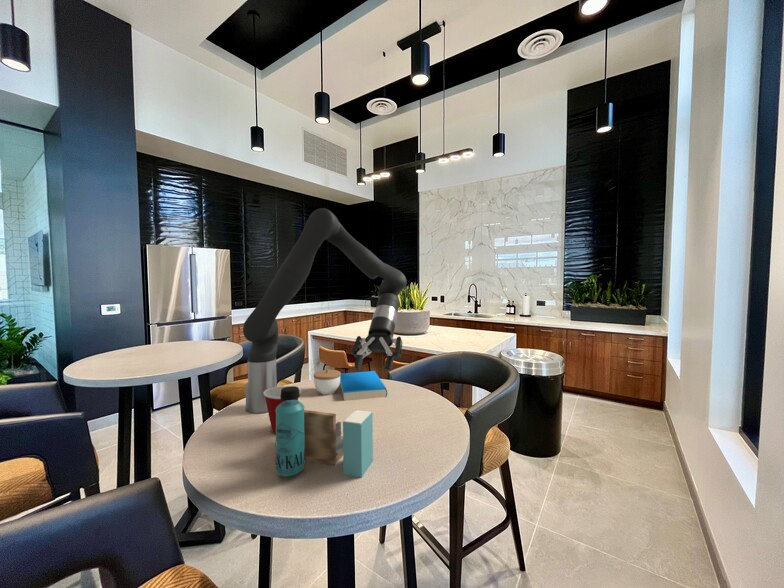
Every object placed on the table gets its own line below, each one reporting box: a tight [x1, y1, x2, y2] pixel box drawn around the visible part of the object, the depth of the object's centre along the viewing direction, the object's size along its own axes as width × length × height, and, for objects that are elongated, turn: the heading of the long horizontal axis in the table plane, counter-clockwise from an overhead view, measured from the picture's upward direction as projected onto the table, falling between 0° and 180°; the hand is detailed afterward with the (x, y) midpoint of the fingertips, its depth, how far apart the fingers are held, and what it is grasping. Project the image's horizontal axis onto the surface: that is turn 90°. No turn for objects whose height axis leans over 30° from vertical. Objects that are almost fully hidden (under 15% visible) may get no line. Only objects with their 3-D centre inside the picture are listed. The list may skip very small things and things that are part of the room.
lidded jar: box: [313, 368, 341, 396], centre depth 128 cm, size 11×11×9 cm
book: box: [339, 370, 388, 402], centre depth 132 cm, size 17×4×25 cm
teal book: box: [342, 409, 374, 479], centre depth 75 cm, size 4×7×12 cm, turn 163°
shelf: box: [304, 409, 343, 466], centre depth 84 cm, size 16×12×12 cm
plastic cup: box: [263, 385, 302, 435], centre depth 95 cm, size 11×11×12 cm
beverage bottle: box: [274, 385, 306, 477], centre depth 72 cm, size 6×7×20 cm
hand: (372, 369), depth 87 cm, fingers open, 8 cm apart
